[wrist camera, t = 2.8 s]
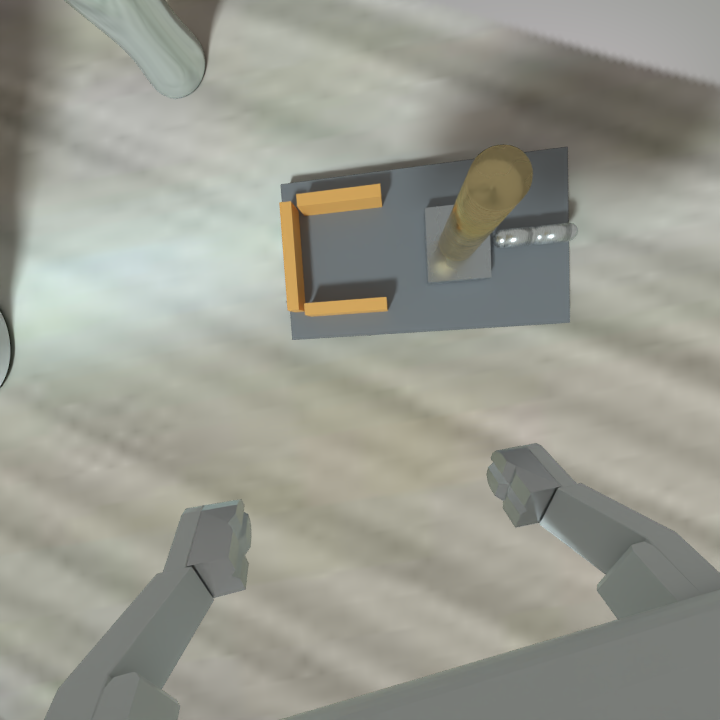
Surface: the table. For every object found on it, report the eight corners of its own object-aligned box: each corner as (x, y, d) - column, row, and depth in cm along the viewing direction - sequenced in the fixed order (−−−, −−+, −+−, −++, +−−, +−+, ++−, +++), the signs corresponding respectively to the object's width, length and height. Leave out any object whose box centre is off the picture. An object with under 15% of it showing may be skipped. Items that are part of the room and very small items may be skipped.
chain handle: (427, 284, 26) (448, 246, 15) (423, 212, 25) (443, 119, 15) (571, 272, 24) (711, 220, 13) (570, 196, 24) (714, 79, 13)
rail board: (297, 339, 29) (284, 339, 26) (286, 192, 29) (271, 172, 25) (560, 323, 26) (584, 321, 23) (557, 157, 25) (582, 129, 22)
